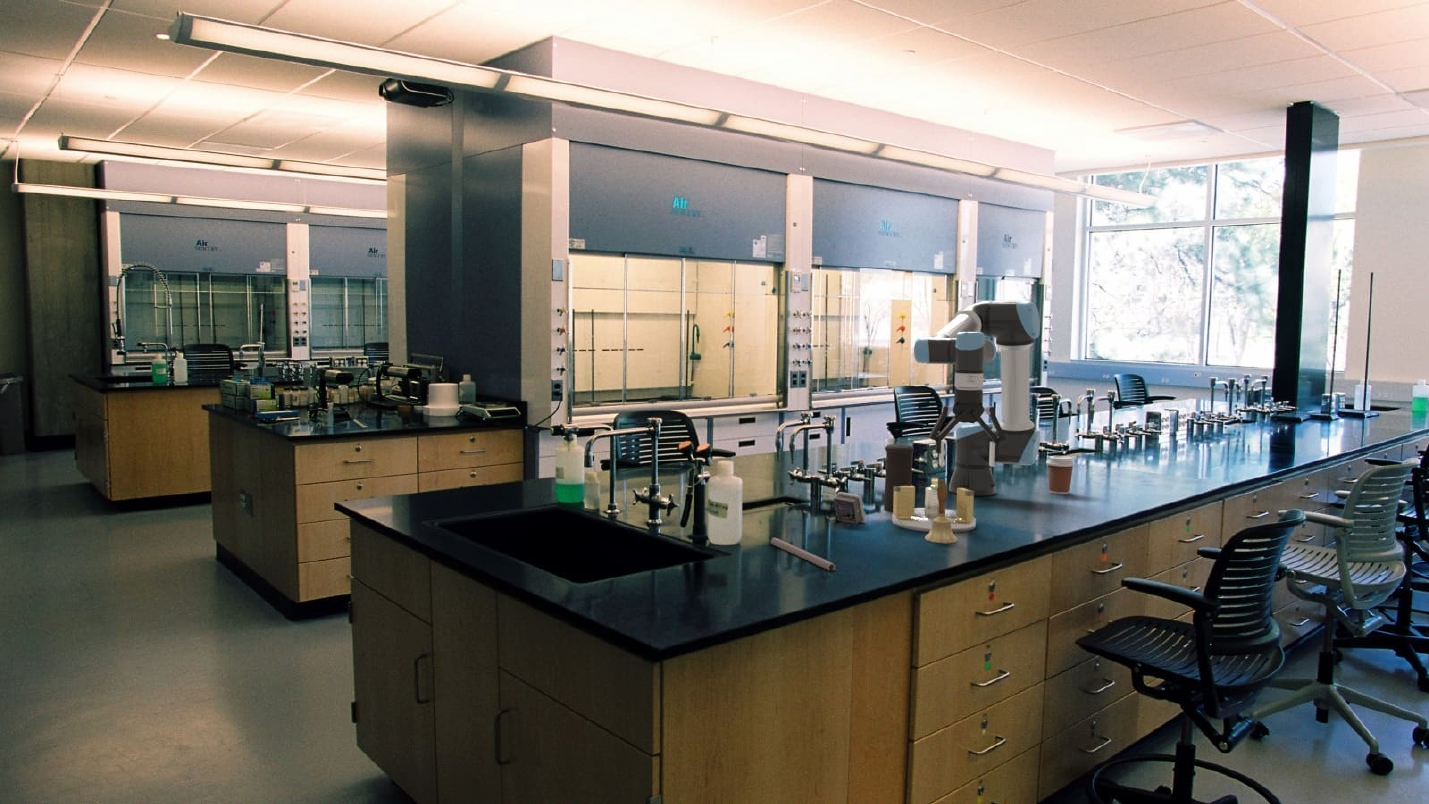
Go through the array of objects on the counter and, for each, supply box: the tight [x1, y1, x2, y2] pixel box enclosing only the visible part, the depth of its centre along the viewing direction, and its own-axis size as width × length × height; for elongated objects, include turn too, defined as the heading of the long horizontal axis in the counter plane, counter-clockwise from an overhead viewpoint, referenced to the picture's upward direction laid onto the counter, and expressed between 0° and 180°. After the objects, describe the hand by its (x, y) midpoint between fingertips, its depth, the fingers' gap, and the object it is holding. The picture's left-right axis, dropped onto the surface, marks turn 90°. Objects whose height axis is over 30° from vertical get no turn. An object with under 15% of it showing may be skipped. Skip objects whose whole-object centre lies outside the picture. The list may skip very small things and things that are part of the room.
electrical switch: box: [833, 491, 866, 525], centre depth 257 cm, size 8×5×8 cm, turn 44°
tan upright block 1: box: [892, 485, 916, 519], centre depth 252 cm, size 6×4×9 cm
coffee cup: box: [1045, 455, 1076, 495], centre depth 304 cm, size 9×9×12 cm
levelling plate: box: [891, 484, 977, 534], centre depth 255 cm, size 23×23×11 cm
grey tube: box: [770, 537, 836, 571], centre depth 218 cm, size 2×27×2 cm, turn 26°
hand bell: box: [924, 478, 958, 545], centre depth 236 cm, size 8×8×16 cm
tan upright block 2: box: [955, 488, 975, 523], centre depth 248 cm, size 6×4×9 cm
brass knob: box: [930, 477, 939, 485], centre depth 264 cm, size 6×4×9 cm
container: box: [883, 443, 915, 512], centre depth 273 cm, size 9×9×20 cm
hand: (966, 465), depth 248 cm, fingers open, 13 cm apart
